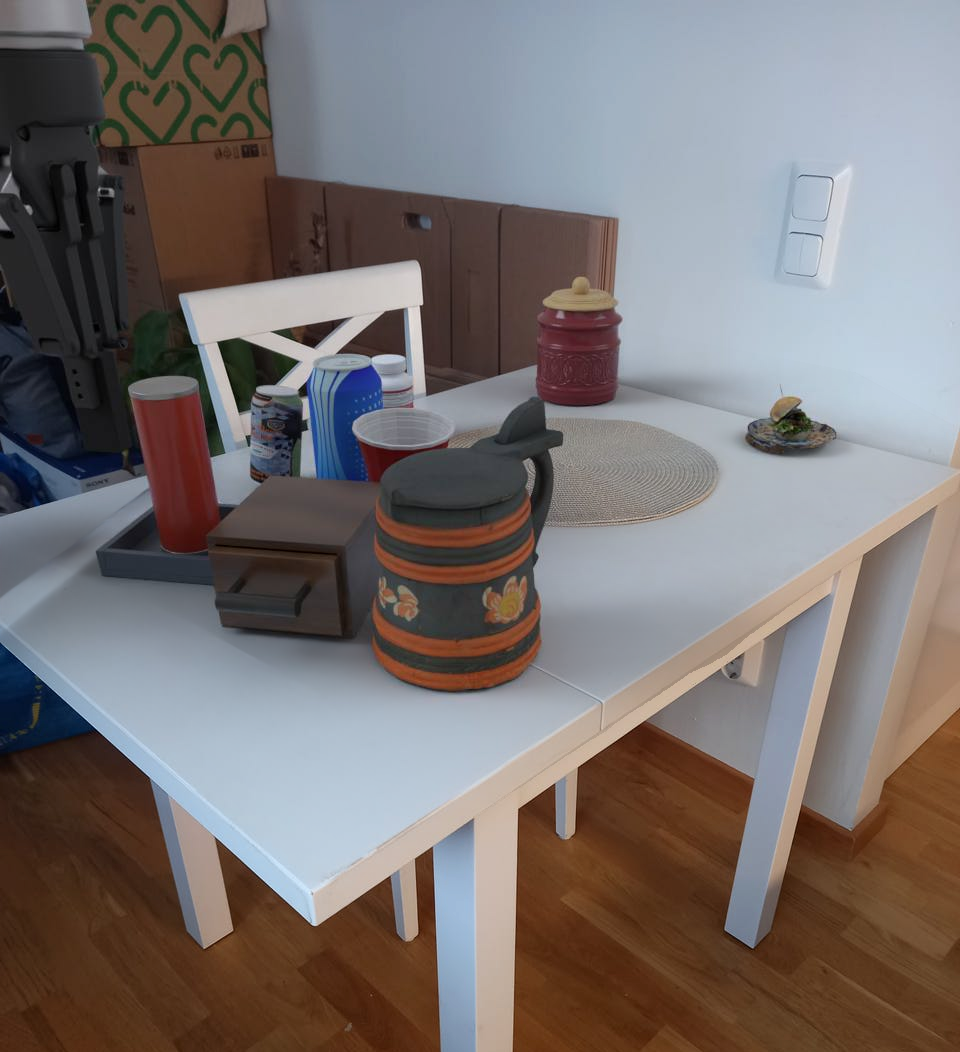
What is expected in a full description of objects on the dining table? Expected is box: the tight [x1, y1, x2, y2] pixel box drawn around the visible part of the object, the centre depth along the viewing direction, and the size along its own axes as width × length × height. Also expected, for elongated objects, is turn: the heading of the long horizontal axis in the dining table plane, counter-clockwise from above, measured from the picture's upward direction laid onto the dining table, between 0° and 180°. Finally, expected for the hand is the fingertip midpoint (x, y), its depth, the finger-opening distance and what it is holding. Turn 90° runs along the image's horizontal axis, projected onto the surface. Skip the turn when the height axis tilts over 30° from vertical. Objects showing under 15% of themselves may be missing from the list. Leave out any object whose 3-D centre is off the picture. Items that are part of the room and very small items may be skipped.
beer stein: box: [372, 396, 564, 692], centre depth 77 cm, size 19×15×20 cm
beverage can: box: [249, 384, 304, 486], centre depth 112 cm, size 6×7×12 cm
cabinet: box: [206, 476, 381, 639], centre depth 87 cm, size 15×13×9 cm
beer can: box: [306, 353, 383, 482], centre depth 107 cm, size 8×8×16 cm
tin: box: [127, 375, 221, 556], centre depth 93 cm, size 6×6×17 cm
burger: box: [745, 384, 837, 455], centre depth 124 cm, size 12×12×8 cm
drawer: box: [208, 545, 346, 636], centre depth 84 cm, size 18×11×7 cm, turn 169°
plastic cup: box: [352, 407, 455, 482], centre depth 100 cm, size 11×11×12 cm
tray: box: [95, 502, 239, 586], centre depth 97 cm, size 14×14×3 cm
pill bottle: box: [371, 353, 415, 409], centre depth 126 cm, size 6×6×11 cm
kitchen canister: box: [535, 276, 624, 406], centre depth 142 cm, size 13×13×18 cm
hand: (108, 447), depth 64 cm, fingers closed
